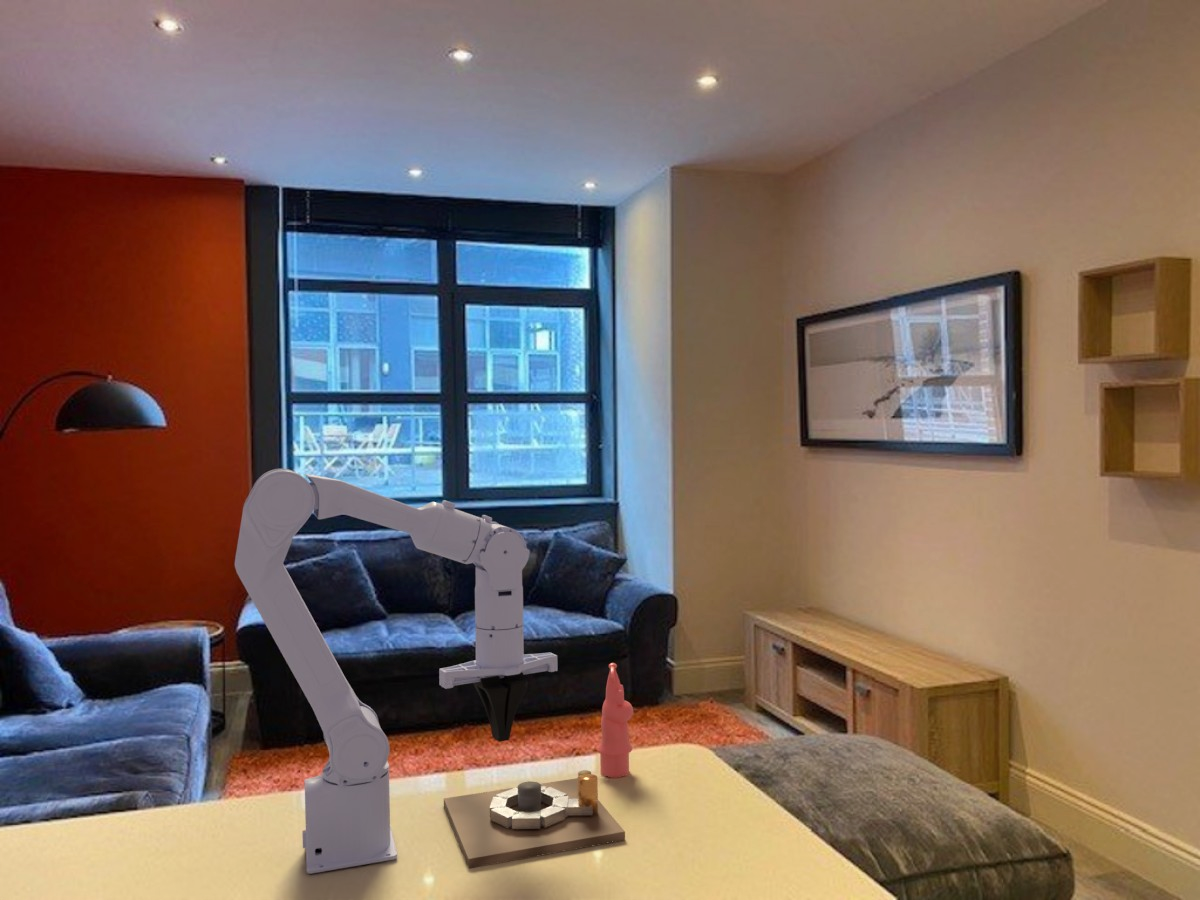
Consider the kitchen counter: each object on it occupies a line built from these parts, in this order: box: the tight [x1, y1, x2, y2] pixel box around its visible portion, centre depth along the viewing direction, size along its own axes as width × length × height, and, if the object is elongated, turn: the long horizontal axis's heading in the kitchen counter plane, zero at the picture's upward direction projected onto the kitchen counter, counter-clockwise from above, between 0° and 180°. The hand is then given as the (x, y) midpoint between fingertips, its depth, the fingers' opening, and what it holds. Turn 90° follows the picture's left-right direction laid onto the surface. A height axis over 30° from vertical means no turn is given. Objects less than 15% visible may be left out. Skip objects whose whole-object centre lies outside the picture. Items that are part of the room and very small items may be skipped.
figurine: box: [596, 662, 634, 778], centre depth 120 cm, size 5×5×15 cm
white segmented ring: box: [490, 773, 599, 829], centre depth 105 cm, size 13×9×4 cm
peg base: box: [443, 769, 626, 869], centre depth 105 cm, size 18×17×5 cm
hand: (500, 738), depth 104 cm, fingers closed
